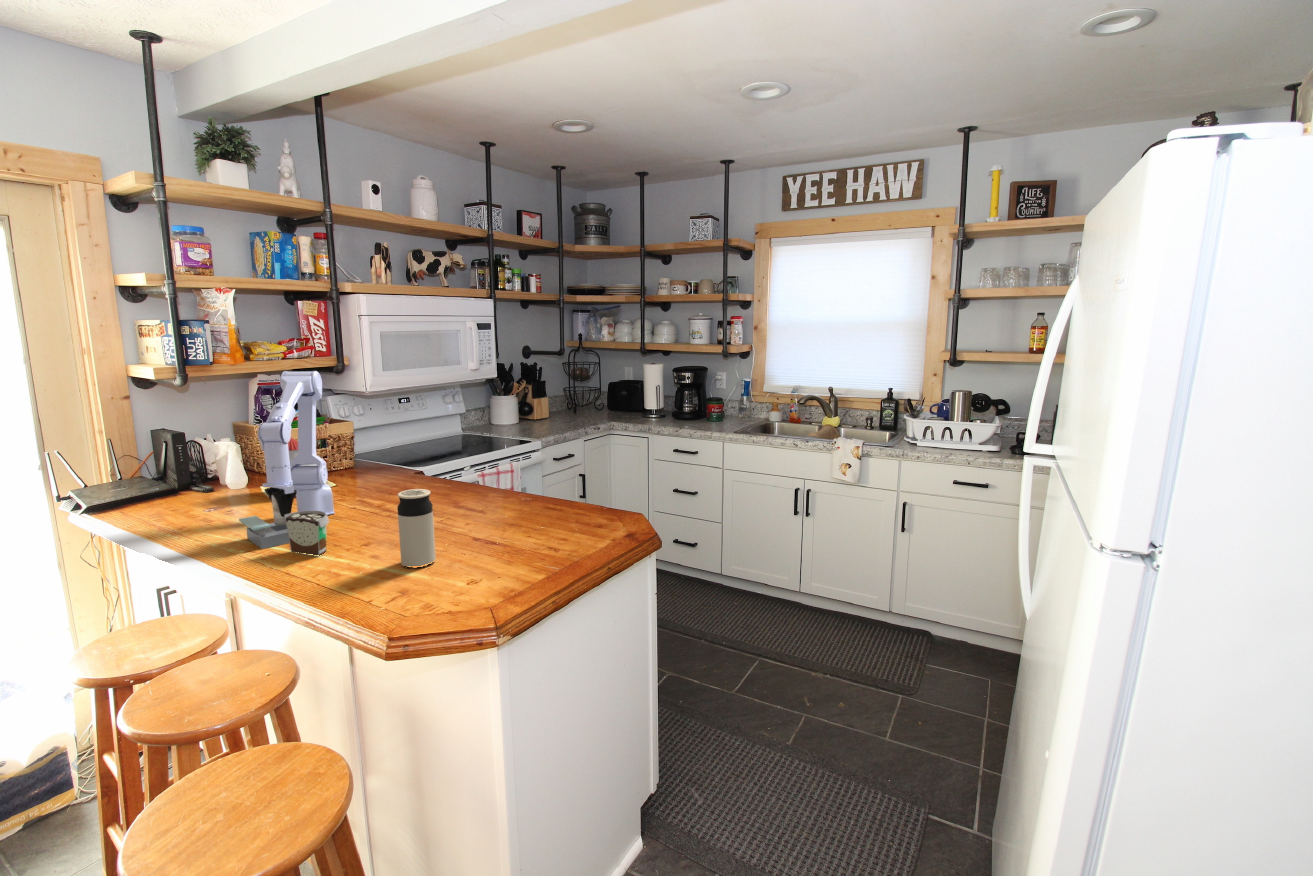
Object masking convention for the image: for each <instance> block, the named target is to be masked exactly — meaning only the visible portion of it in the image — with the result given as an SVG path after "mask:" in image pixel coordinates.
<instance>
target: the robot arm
mask: <svg viewBox="0 0 1313 876" xmlns="http://www.w3.org/2000/svg"><path fill="white" fill-rule="evenodd" d="M322 379H323V378H322V377H321V374H320V373H319V372H318V371H317V370H312V371H288V370H287V371H286V370H284V371H282V373H281V375H280V377H279V384H280V387H281V390H282V393H281V396H280V399H279V402H278V403H275V404H273V406H272V408H271V410H270V412H269V415H268V416H267V419H266V421H265V422H263V423H262V424H259V427H258V428H257V438H258V442H259V443H260V449H261V451H263V453H264V454H263V455H264V462H265V464H264V465H265V473H266V475H265V476H266V483H262V484H261V485H262V487H263V488H265V489H264V492H265V494H266V495H267V496H268V498H269V500H270V502H271V503H272V497H271V495H273V496H274V498H275V499H276V501H277V504H278V507H279V511H280V514H281V517H285V514H289V513H292V510H293V509H292V508H293V503H294V499H296V509H297V512H300V511H322V512H325V513H326V515H327V516H330V515H334V514H336V512H335V507H334V498H333V497H334V496H333V491H332V487H331V486H330V485H329V484H328V483H327V482H328V478H329V477H328V475H329V474H328V469H327V462H326V461H325V460H324V459H323V458H322V457H320V456H319V455H316V453H317V445H316V444H317V403H318V402H317V401H319V400H321V399H322V395H323V380H322ZM296 404H297V412H296V409H295V405H296ZM296 413H297V442H298V456H297V457H295V458H294V459H293V460H291V461H290V459H289V449H288V442H289V441H290V438H291V437H292V423H293V420H294V418H295V416H296ZM308 464H316V465H317V466H300V465H308ZM294 489H295V490H294ZM295 495H296V497H295Z"/></svg>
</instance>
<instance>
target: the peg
mask: <svg viewBox="0 0 1313 876" xmlns="http://www.w3.org/2000/svg"><path fill="white" fill-rule="evenodd" d="M271 497H272V502H271V505H272V514H273V523H274V524H275V525H285V524H286V522H284V517H281V514H280V511H279V507H278V504H277V501H276V499H275V498H274V496H273V495H271Z"/></svg>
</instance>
